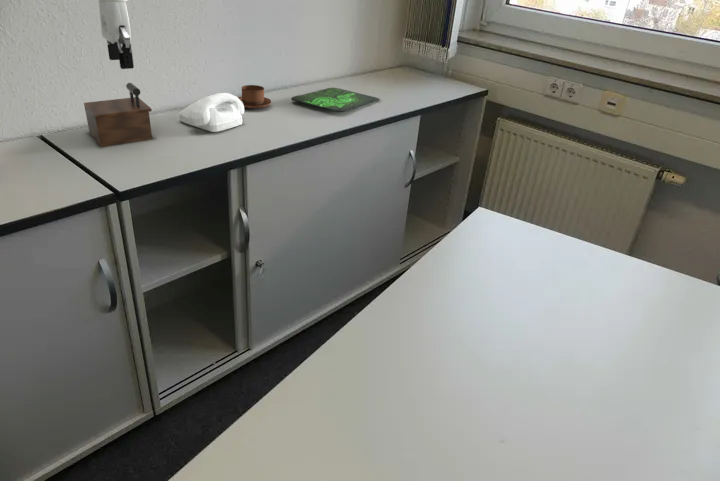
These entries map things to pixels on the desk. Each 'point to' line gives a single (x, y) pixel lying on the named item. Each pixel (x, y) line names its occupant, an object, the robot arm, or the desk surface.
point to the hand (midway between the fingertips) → (121, 63)
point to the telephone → (214, 112)
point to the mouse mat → (335, 99)
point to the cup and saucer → (254, 97)
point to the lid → (119, 105)
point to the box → (119, 128)
